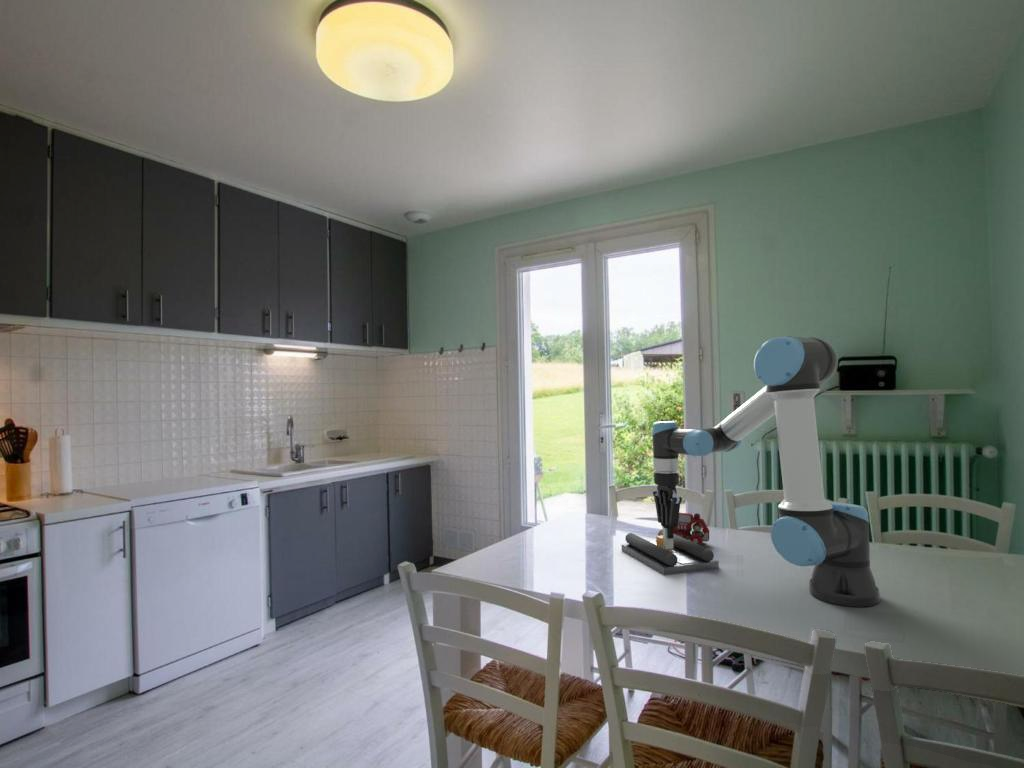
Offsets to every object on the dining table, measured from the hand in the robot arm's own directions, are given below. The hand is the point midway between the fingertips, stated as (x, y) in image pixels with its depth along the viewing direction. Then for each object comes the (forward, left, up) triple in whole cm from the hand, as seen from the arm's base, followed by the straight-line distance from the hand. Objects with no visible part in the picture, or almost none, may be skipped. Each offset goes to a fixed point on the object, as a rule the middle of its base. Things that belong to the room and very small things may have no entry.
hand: (668, 547), depth 172 cm
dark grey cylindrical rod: (+1, -6, -2) cm, 6 cm away
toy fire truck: (+13, -16, -4) cm, 21 cm away
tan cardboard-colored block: (+2, 0, -1) cm, 2 cm away
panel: (+1, 0, -4) cm, 4 cm away
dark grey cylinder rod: (+1, +6, -2) cm, 6 cm away
